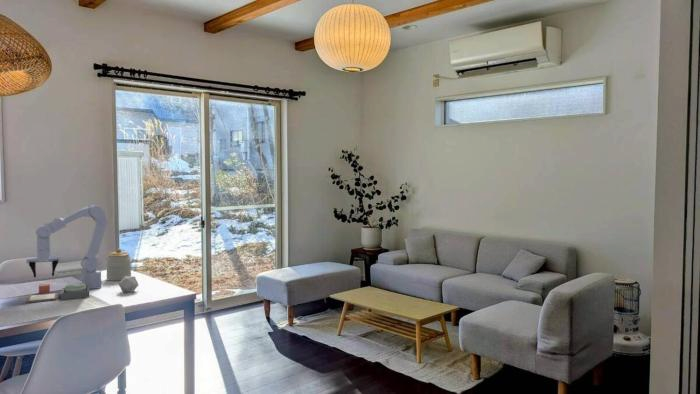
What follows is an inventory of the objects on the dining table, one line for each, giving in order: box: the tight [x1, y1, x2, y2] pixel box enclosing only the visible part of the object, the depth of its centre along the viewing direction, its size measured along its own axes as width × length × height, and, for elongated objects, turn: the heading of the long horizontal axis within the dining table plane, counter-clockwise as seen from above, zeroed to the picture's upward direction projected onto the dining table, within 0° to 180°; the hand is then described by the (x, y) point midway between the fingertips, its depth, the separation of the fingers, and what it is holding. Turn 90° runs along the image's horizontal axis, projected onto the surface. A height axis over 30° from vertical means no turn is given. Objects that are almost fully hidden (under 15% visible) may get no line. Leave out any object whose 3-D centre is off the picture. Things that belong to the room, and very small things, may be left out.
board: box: [26, 292, 59, 304], centre depth 234 cm, size 12×12×1 cm
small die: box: [38, 283, 51, 294], centre depth 244 cm, size 4×4×5 cm
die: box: [118, 275, 139, 293], centre depth 249 cm, size 8×9×10 cm
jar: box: [106, 248, 132, 282], centre depth 278 cm, size 13×13×18 cm
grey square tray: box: [60, 286, 90, 300], centre depth 241 cm, size 12×12×3 cm
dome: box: [64, 282, 86, 293], centre depth 240 cm, size 9×9×3 cm
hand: (44, 276), depth 243 cm, fingers open, 7 cm apart
